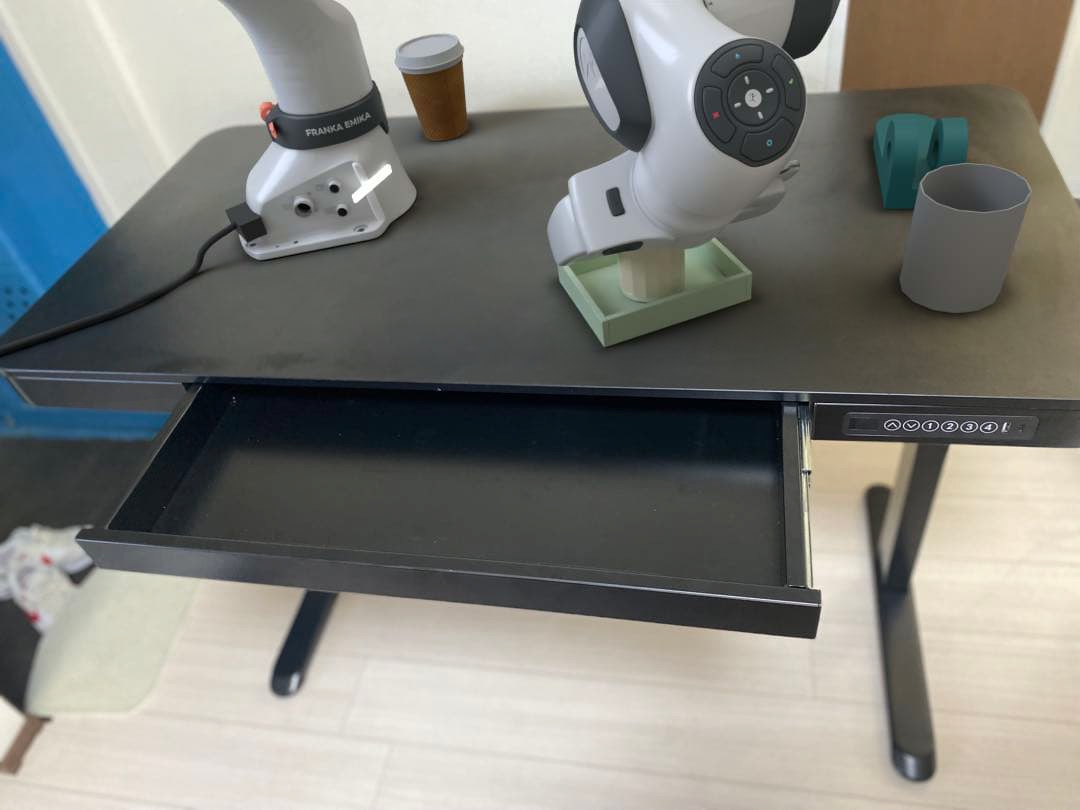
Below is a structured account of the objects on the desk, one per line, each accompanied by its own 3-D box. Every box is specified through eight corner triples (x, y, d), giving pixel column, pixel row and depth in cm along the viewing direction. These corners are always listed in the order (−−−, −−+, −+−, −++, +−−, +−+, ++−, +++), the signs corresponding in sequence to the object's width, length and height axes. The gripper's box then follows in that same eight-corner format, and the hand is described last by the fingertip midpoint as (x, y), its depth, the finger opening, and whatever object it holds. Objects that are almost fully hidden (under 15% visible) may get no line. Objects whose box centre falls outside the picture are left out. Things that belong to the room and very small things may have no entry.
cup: (1008, 313, 69) (1041, 212, 62) (906, 312, 71) (928, 213, 64) (989, 259, 75) (1018, 161, 68) (895, 259, 77) (914, 164, 70)
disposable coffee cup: (415, 122, 117) (394, 39, 109) (479, 112, 117) (462, 27, 109) (411, 151, 110) (389, 63, 102) (479, 140, 110) (461, 51, 102)
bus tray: (604, 347, 73) (601, 321, 71) (559, 281, 82) (556, 257, 80) (751, 299, 76) (752, 273, 74) (692, 240, 84) (692, 215, 82)
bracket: (954, 208, 82) (972, 135, 77) (884, 209, 84) (897, 138, 78) (931, 130, 95) (945, 63, 89) (870, 132, 96) (880, 67, 91)
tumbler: (635, 309, 75) (629, 227, 69) (609, 276, 80) (602, 196, 74) (696, 290, 76) (696, 206, 70) (667, 258, 81) (664, 177, 75)
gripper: (797, 119, 63) (740, 180, 76) (549, 180, 61) (537, 231, 75) (819, 195, 62) (758, 242, 76) (571, 259, 61) (554, 295, 74)
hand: (647, 237), depth 75 cm, fingers closed on tumbler, 6 cm apart
